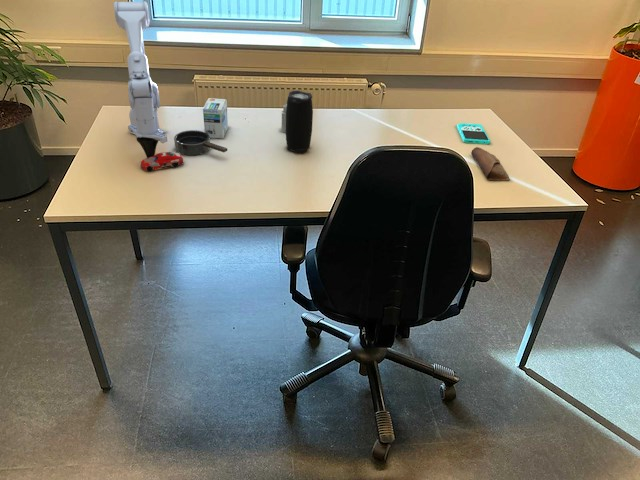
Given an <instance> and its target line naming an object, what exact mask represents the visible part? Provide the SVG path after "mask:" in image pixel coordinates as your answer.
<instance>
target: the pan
mask: <svg viewBox="0 0 640 480" xmlns="http://www.w3.org/2000/svg"><path fill="white" fill-rule="evenodd" d="M173 141H174V149H175V152H177V153H180V154H181V155H183V156H184V155H185V156H199V155H203V154H205V153H207V152H208V151H209V150H210V149H211V148H209V147H206V146H204V143H206V142H210V143H211V138H210V136H209V135H208V134H207V133H205V131H202V130H195V129H192V130H191V129H190V130H184V131H180V132H178V133H176V134H175V135H174V137H173Z"/></svg>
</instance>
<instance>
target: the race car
mask: <svg viewBox="0 0 640 480" xmlns="http://www.w3.org/2000/svg"><path fill="white" fill-rule="evenodd" d="M184 162H185V161H184V157H183V156H182V154H181V153H179V152H174V151H162V152H158V153H155V154H154V156H152V157H149V158H147V157H146V158H144V159H142V160H141V161H140V164H139V167H140V168H141V169H142V170H143V171H147V172H153V171H155V170H163V169H168V168H169V169H170V168H174V169H175V168H178V166H179V167H180V166H181V165H184Z"/></svg>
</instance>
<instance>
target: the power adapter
mask: <svg viewBox="0 0 640 480" xmlns="http://www.w3.org/2000/svg"><path fill="white" fill-rule="evenodd" d="M285 102H286V104H284V105H283V107H282V110H281V126H280V127H281V131H280V132H281V133H286V132H285V130H286V107H287V101H285Z"/></svg>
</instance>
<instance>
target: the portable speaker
mask: <svg viewBox="0 0 640 480" xmlns="http://www.w3.org/2000/svg"><path fill="white" fill-rule="evenodd" d="M286 102H287V107H286V130H285V132H284V133H285V141H286V150H287V151H290V150H291V151H293V152H294V153H296V154H297V155H301V154H305V153H307V152H308V151H309V149H310V146H311V141H312V134H313V121H314V118H313V116H314V109H313V95H312V93H311V92H305V91H301V90H291V91H289V93H288V96H287V99H286Z"/></svg>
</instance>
